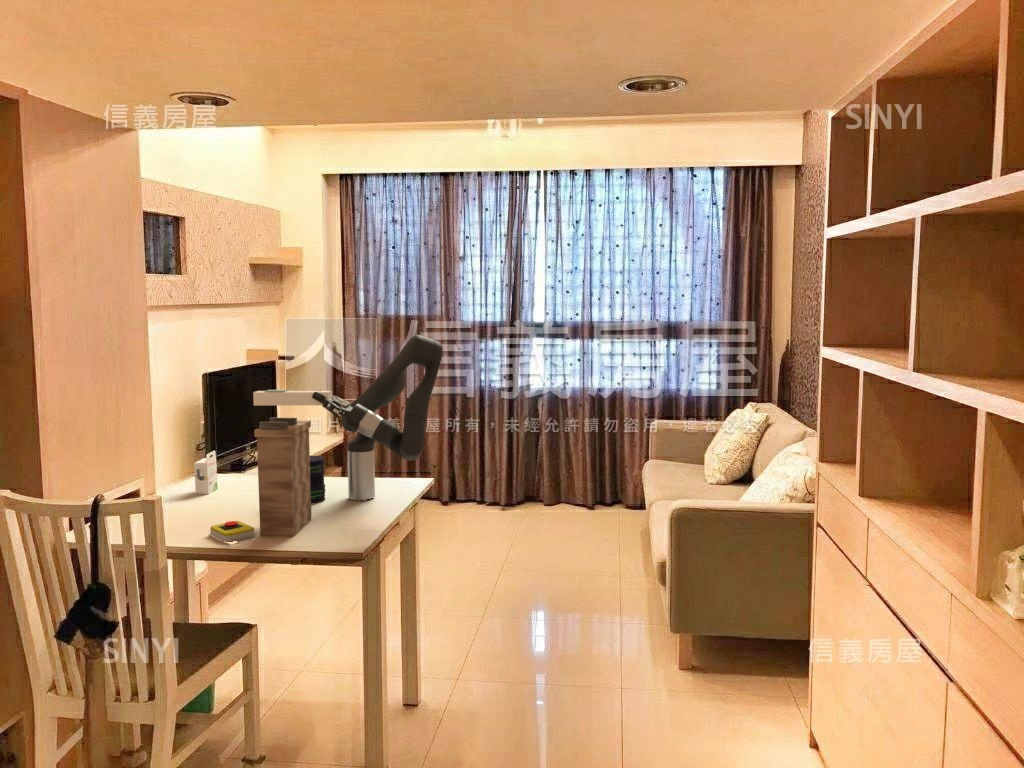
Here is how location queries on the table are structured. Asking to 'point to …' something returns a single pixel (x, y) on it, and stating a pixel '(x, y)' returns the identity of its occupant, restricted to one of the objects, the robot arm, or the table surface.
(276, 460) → the tall stand
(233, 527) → the emergency button
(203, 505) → the table surface
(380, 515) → the table surface
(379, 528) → the table surface
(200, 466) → the ink box
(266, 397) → the bar
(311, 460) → the dark blue cylinder
